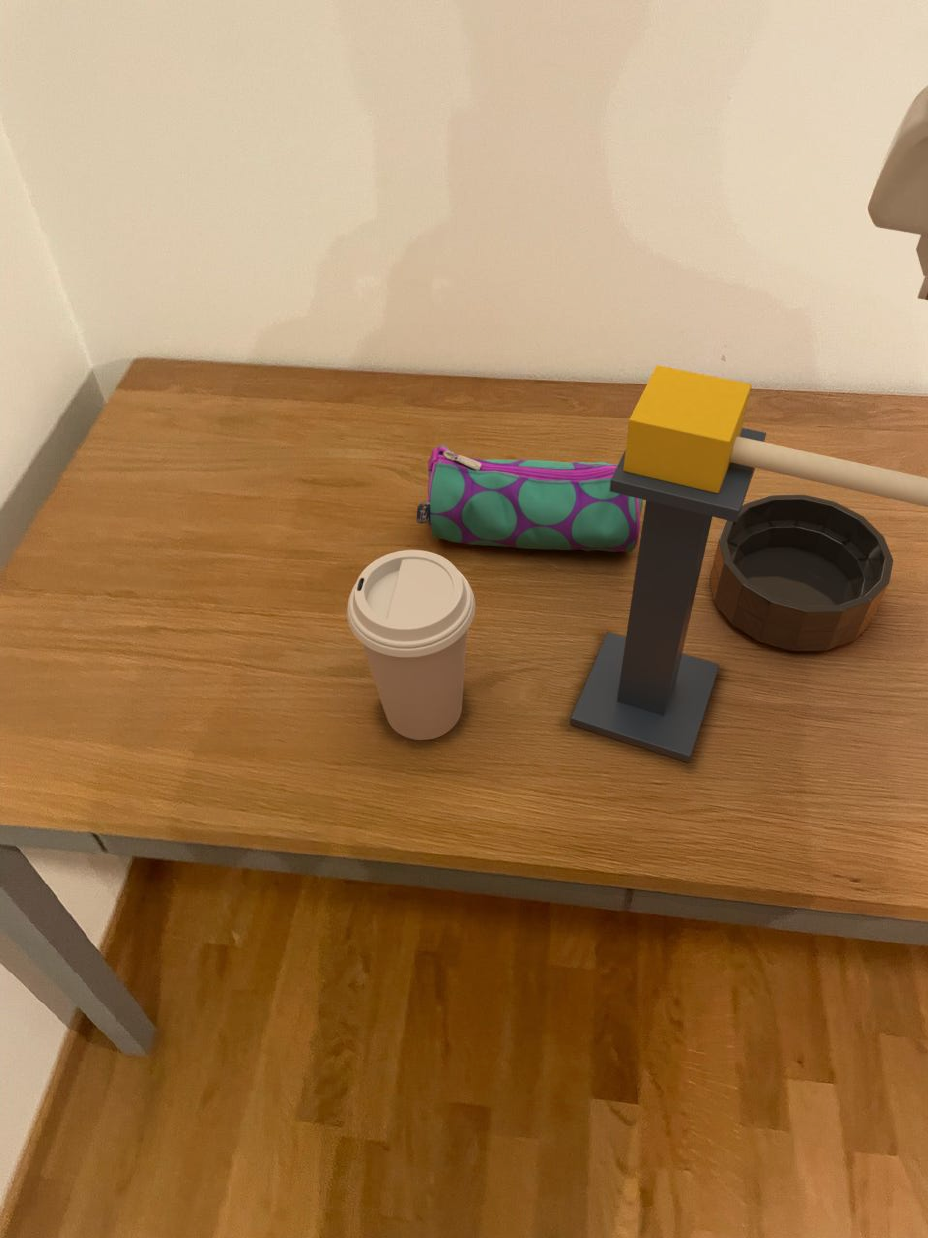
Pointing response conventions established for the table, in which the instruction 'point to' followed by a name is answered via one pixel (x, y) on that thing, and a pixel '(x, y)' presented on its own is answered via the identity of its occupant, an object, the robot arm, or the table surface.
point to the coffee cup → (414, 638)
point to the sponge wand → (732, 442)
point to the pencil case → (528, 504)
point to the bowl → (800, 572)
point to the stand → (661, 619)
